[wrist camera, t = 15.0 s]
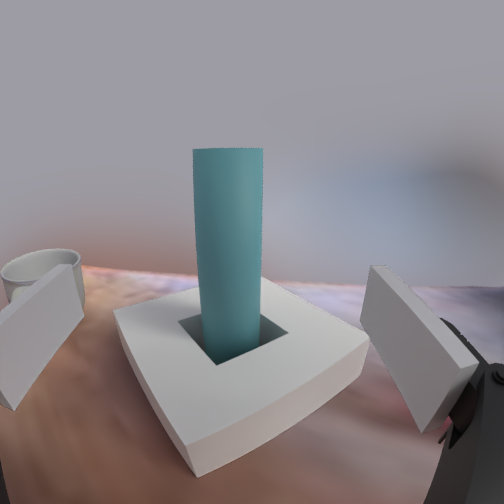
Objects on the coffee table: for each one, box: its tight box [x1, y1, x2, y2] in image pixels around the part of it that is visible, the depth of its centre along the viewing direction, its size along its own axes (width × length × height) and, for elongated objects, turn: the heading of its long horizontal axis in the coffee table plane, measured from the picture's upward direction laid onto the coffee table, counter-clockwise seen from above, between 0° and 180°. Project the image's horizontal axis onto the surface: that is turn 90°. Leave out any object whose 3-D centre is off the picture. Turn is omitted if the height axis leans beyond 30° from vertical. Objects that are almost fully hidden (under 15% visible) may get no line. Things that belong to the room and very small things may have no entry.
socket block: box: [113, 276, 371, 478], centre depth 23 cm, size 16×16×4 cm
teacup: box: [0, 249, 85, 309], centre depth 26 cm, size 14×11×8 cm
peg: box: [193, 148, 263, 366], centre depth 21 cm, size 4×4×18 cm
